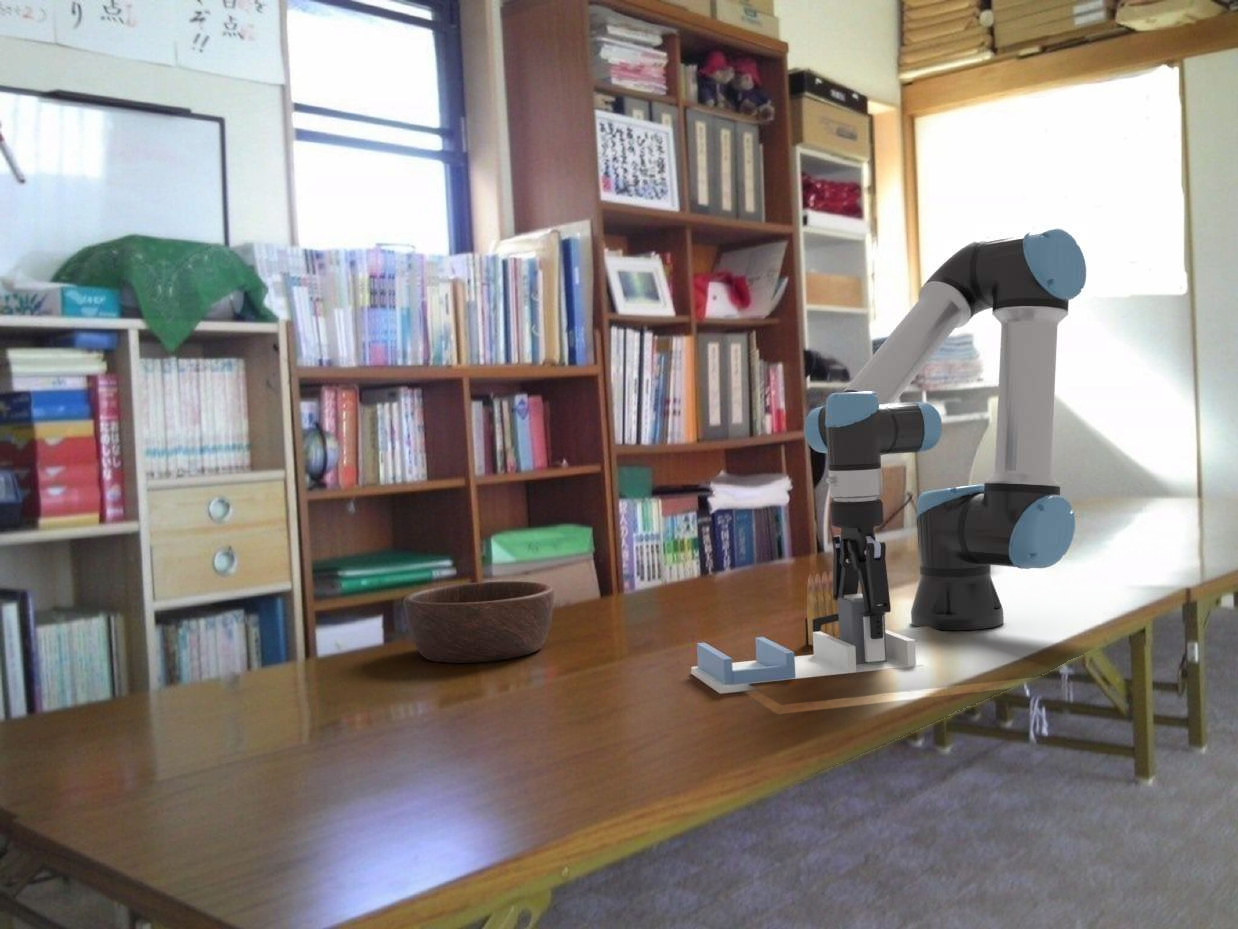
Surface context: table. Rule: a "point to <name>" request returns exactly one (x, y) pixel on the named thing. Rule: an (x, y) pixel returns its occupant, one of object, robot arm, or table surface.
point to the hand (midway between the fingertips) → (863, 655)
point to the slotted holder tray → (795, 662)
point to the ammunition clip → (821, 608)
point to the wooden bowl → (480, 620)
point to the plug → (854, 625)
